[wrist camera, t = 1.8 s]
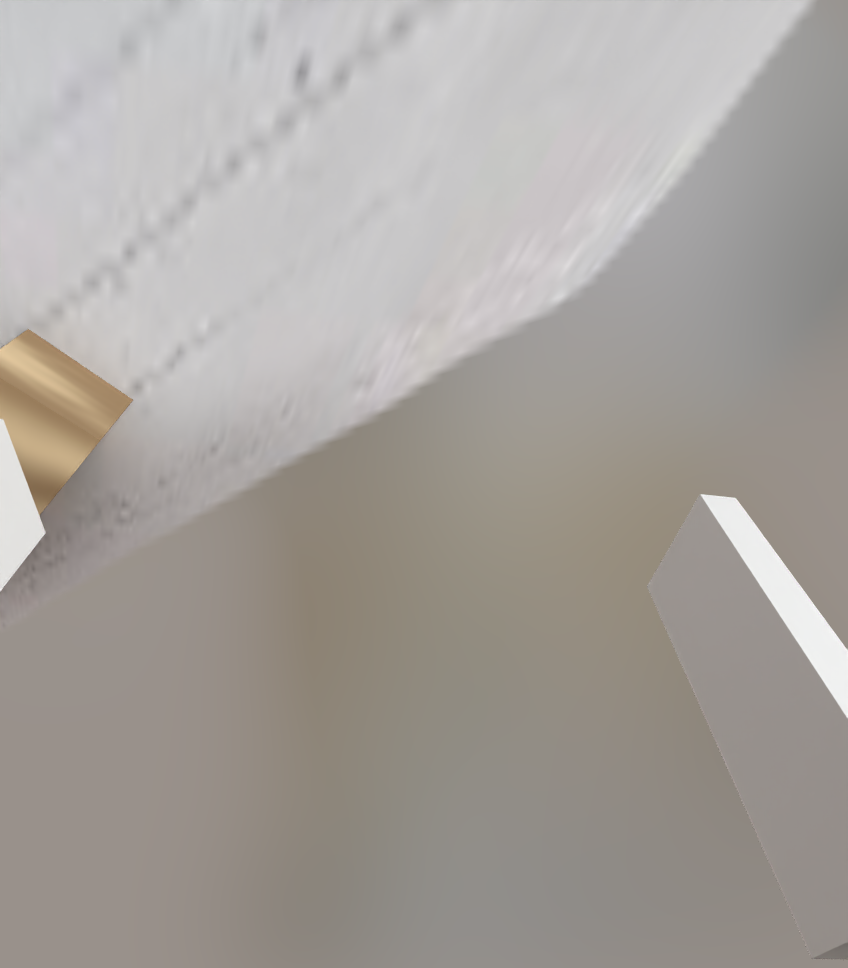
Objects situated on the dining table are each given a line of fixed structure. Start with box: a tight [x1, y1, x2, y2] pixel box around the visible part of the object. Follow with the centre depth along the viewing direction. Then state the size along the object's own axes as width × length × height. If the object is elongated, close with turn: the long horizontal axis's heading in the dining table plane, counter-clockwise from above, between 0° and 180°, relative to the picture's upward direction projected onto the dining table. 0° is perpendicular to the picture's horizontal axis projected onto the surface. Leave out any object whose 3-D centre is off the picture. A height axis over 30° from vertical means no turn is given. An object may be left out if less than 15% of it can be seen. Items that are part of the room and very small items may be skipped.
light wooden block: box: [0, 329, 133, 515], centre depth 32 cm, size 12×6×4 cm, turn 134°
